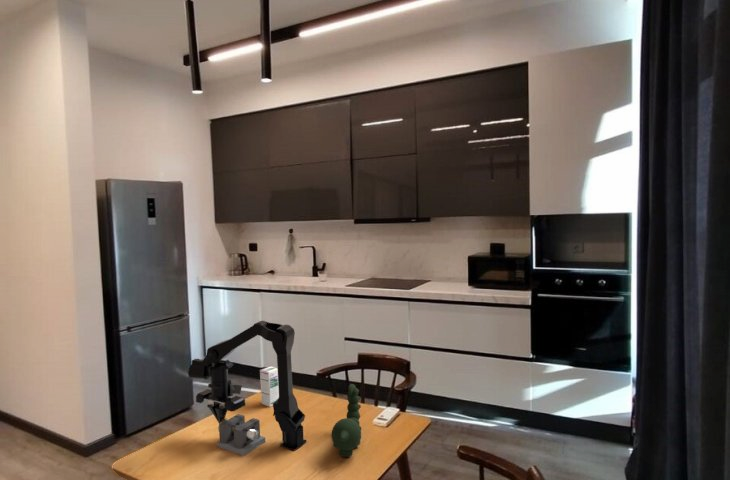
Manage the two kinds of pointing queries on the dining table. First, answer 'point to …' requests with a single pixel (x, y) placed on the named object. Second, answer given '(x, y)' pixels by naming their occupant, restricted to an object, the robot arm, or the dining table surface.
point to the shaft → (249, 433)
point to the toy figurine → (348, 426)
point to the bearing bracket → (239, 435)
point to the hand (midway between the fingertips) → (221, 423)
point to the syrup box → (269, 385)
